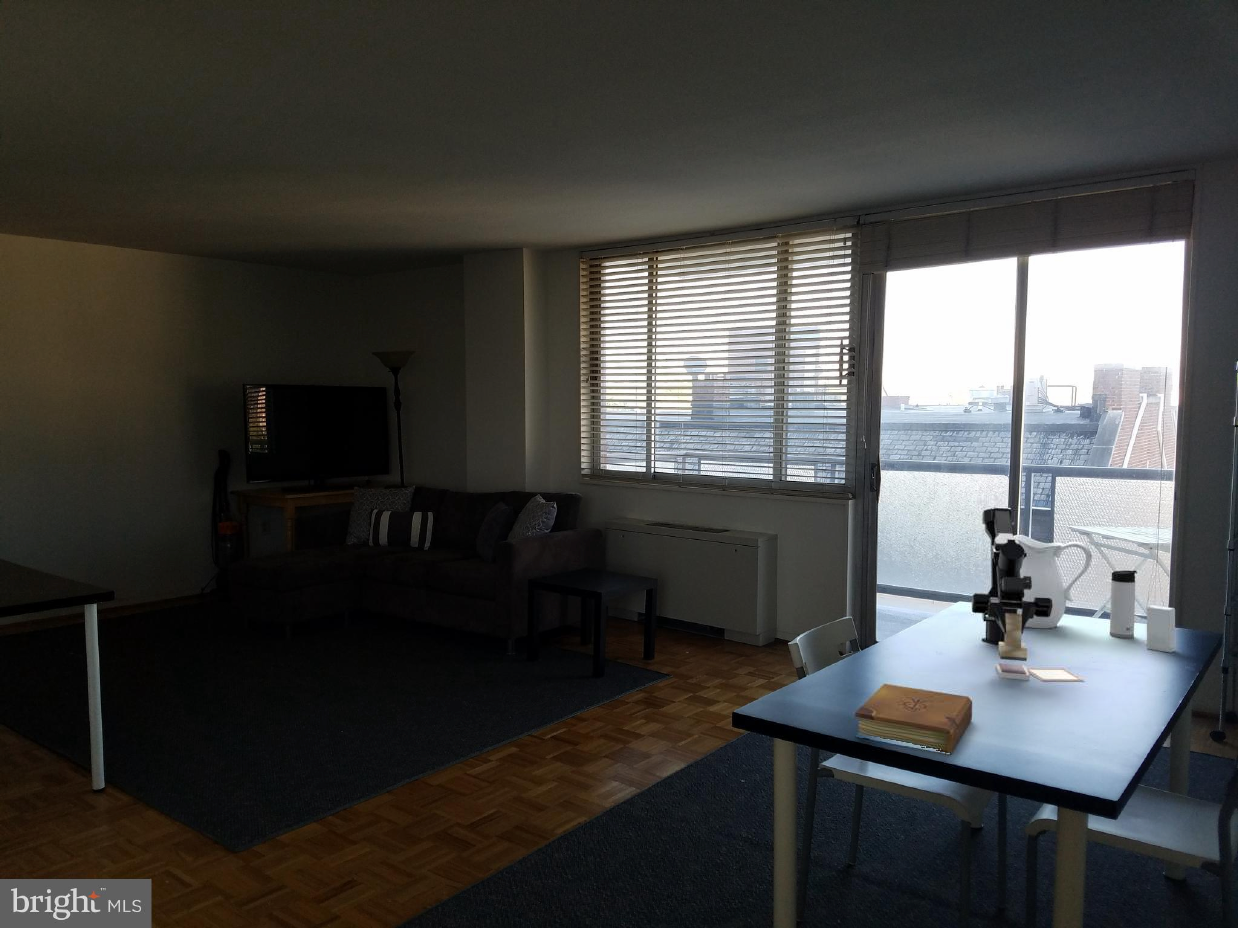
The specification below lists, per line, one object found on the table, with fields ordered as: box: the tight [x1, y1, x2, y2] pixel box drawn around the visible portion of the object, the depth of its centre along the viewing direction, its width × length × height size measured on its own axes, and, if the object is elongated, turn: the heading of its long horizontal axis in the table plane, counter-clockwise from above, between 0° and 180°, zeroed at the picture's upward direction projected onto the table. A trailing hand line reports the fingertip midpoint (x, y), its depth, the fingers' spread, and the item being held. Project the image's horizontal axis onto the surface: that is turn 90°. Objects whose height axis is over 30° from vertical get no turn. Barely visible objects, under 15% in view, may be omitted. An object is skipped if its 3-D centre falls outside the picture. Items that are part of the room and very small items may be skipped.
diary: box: [854, 683, 973, 755], centre depth 182 cm, size 23×19×6 cm
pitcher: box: [1013, 534, 1093, 629], centre depth 273 cm, size 24×17×28 cm
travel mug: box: [1109, 569, 1138, 639], centre depth 261 cm, size 6×7×20 cm
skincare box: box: [1146, 605, 1176, 653], centre depth 245 cm, size 6×4×12 cm
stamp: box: [998, 613, 1028, 662], centre depth 221 cm, size 6×5×11 cm
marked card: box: [1026, 667, 1086, 682], centre depth 221 cm, size 10×10×1 cm
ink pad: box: [994, 663, 1031, 681], centre depth 222 cm, size 9×7×2 cm
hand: (1013, 633), depth 220 cm, fingers closed on stamp, 3 cm apart
